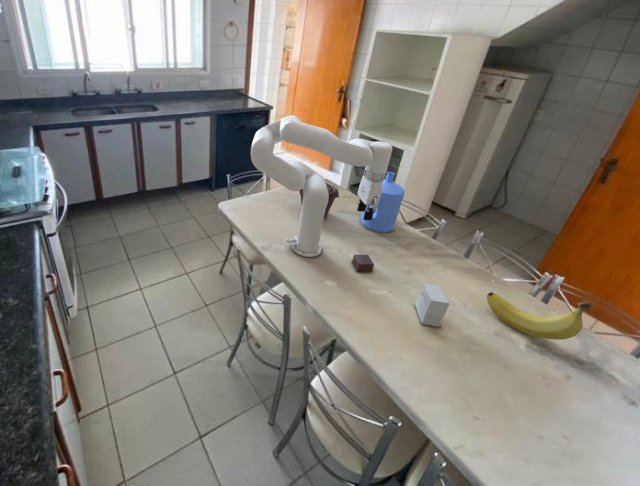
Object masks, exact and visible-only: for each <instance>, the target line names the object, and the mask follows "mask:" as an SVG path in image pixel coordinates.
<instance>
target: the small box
mask: <svg viewBox="0 0 640 486" xmlns="http://www.w3.org/2000/svg"><path fill="white" fill-rule="evenodd" d="M449 306H450V301H449V300H448V297H447V295H446V294H445V292H444V290H443V288H442V286H439V285H434V284H427V283H423V285H422V287H421V290H420V292H419V295H418V298H417V301H416V304H415V309H416V312H417V314H418V317H419V320H420V322H421V324H422V325H426V326H431V327H432V326H433V327H438V328H440V327H441V324H442V322H443V320H444V318H445V316H446V313H447V310H448V309H449Z"/></svg>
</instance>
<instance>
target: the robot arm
mask: <svg viewBox="0 0 640 486" xmlns="http://www.w3.org/2000/svg"><path fill="white" fill-rule="evenodd" d="M283 141H284V142H285V143H286V144H287V143H288V144H290V145H294V146H298V147H302V148H305V149H309V150H312V151H315V152H318V153H320V154H321V155H324V156H326V157H329V158H330V159H332V160H335V161H337V162H339V163H342V164H345V165H349V166H353V167H358V168H362V167H364V171H363V175H362V177H361V180H360V183H359V186H358V190H357V196H358V198H359V199H358V205H357V209H356V211H357V212H363V211H365V210H366V206H367V211H365V214H364V218H363V219H364V220H372V217H373V213H374V212H375V211H376V210H377V209H378V203H379V200H380V196H381V192H382V185H383V181H384V180H385V179H386V176H387V172H388V167H389V164H390V160H391V157H392V152H393V146H392V144H390V143H388V142H385V141H379V140H378V141H373V140H368V139H365V138H353V139H351V140H349V141H345V140H344V139H341V138H339V137H337V136H336V135H335V134H334V133H333V132H332V131H330V130H328V129H326V128H323V127H320V126H316V125H313V124H309V123H305V122H302V120H301V119H300V118H299V117H298V116H297V115H296V116H295V115H291V114H290V115H286V116H284V117H281V118H279V119H277V120H276V121H273V122H271V123H269V124H266V125H264V126H262V127H261V128H259V129H258V130H257V131H256V132H255V134H254V135H253V139H252V143H251V145H250V160H251V163H252V164H253V166H254V168H255V169H257V170H258V171H259V172H261V173H262V174H264V175H265V176H267V177H268V178H270V179H271V180H273V181H275V182H276V183H278V184H279V185H281V186H282V187H284V188H286V189H287V190H289V191H292V192H299V190H301V189H303V194H304V195H303V203H302V208H301V209H300V214H299V220H298V221H299V222H298V229H297V235H295V236H294V237H292V238H285V244H288V246H289V247H291V248H292V251H294V252H295V254H297V255H300V256H302V257H306V258H314V257H318V256H319V255H321V253H322V249H323V248H322V246H321V243H320V239H321V235H322V229H323V226H324V225H323V224H324V220H325V219H324V214H325V210H326V207H327V204H328V199H329V194H328V189H327V185H326V183H327V182H326V179H325V178H324V176H323V175H322V174H321V173H319V172H318V171H316V170H314V169H312V168H311V167H310V166H309V165H306V164H305V163H303V162H302V161H300V160H297V159H290V160H287V161H286V160H284V159H283V158H281V157H279V156H277V155H275V154H274V149H275V145H277V144H279V143H281V142H283ZM370 206H372V208H369V207H370Z"/></svg>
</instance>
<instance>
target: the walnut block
mask: <svg viewBox="0 0 640 486" xmlns="http://www.w3.org/2000/svg"><path fill="white" fill-rule="evenodd" d="M351 263H352V265H353V268H355V271H356V272H357V273H373V271H374V266H375V262H374V261H373V260H372V258H371V256H370V255H369V254H353V256H352V261H351Z"/></svg>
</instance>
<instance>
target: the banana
mask: <svg viewBox="0 0 640 486" xmlns="http://www.w3.org/2000/svg"><path fill="white" fill-rule="evenodd" d="M486 301H487V305H488V307H489V308H490V310H491V311H492V313H493V314H495V316H496V317H497V318H498V319H500V320H501V321H502V322H504V323H506V325H508V326H510V327H512V328H513V329H515V330H517V331H519V332H521V333H524V334H526V335H528V336H532V337H534V338H539V339H546V340H555V341H557V340H559V341H560V340H561V341H562V340H567V339H571V338H574V337H576V336H578V334H579V333H581V331H582V329H583V326H584V323H583V313H584V312H586V311H590V310H591V308H593V307H594V304H593V303H592V302H590V301H587V300H586V301H584V302H577V303H576V305H577V308H576V309H575V310H574V311H572V312H568V313H562V314H558V315H553V316H544V315H543V316H541V315H535V314H532V313H528V312H526V311H524V310H522V309H520V308H518V307H516V306H515V305H513V304H511V303H510V302H509V301H507V300H506V299H504V298H503V297H502V296H500V295H499V294H497V293H495V292H488V293H487V295H486Z"/></svg>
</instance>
